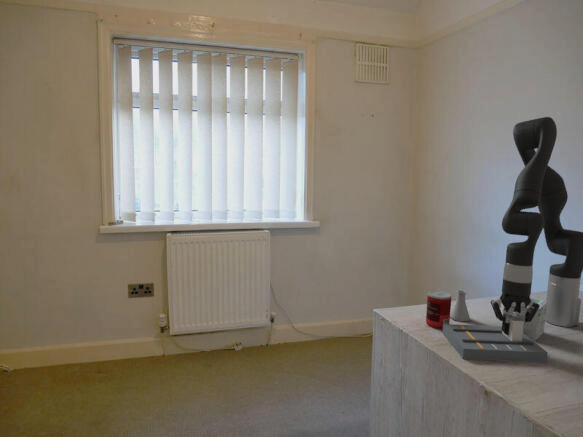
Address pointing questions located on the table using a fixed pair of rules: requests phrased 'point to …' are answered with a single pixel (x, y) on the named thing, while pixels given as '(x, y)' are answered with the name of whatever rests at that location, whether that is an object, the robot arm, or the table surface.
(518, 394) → the table surface
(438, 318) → the canned food
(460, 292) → the flask
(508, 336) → the tall grey rectangular block
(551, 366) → the table surface
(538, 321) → the light bulb box
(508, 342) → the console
